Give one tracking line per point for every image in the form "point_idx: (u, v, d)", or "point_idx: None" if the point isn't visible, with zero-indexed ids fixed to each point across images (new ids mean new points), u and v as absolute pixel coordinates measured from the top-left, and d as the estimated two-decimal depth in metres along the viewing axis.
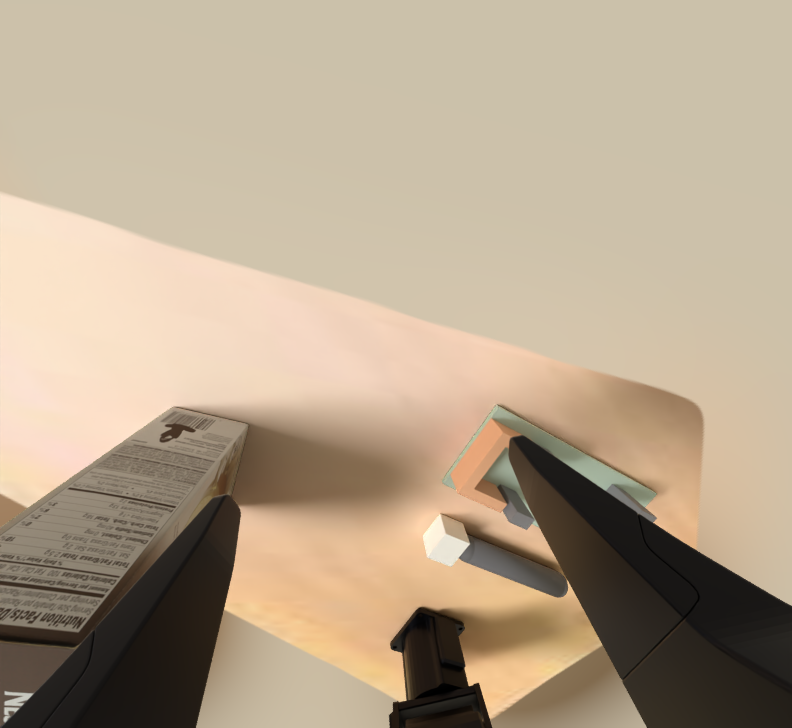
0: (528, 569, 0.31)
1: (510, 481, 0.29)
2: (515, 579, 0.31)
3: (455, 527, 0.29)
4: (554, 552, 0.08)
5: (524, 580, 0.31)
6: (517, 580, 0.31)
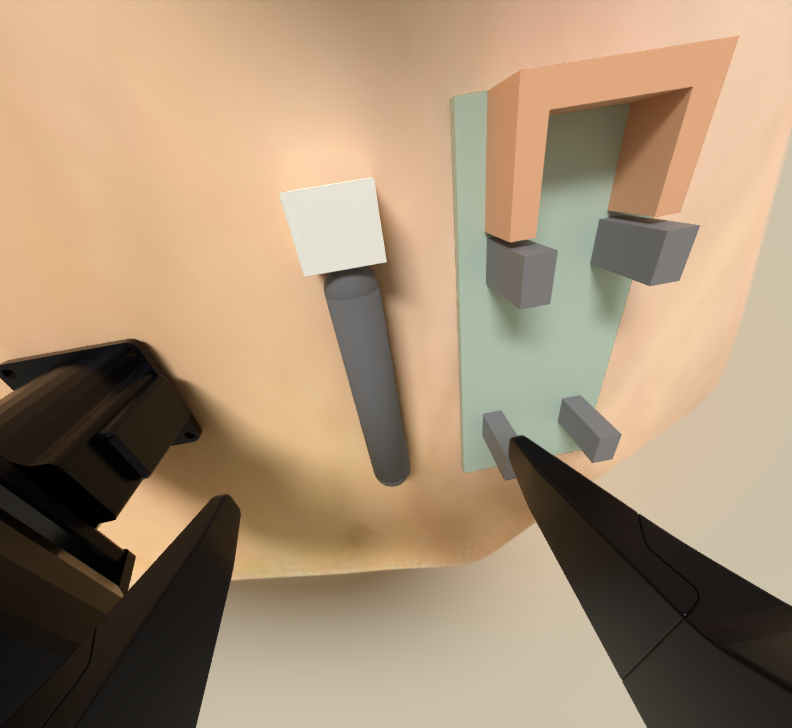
0: (397, 412, 0.16)
1: None
2: (371, 409, 0.15)
3: None
4: (554, 552, 0.08)
5: (379, 421, 0.16)
6: (370, 413, 0.16)
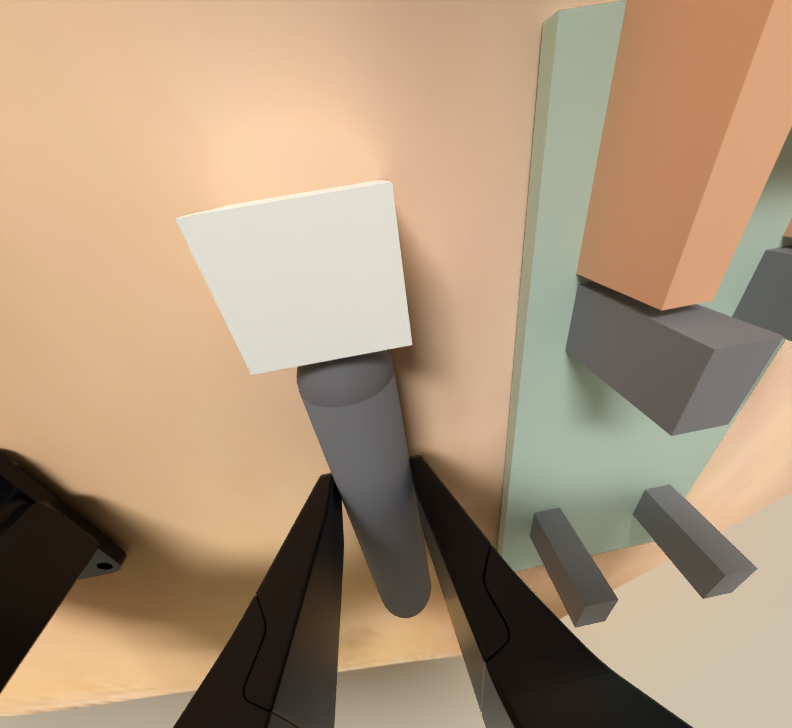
0: (417, 538, 0.11)
1: None
2: (378, 545, 0.10)
3: None
4: (438, 577, 0.08)
5: (390, 557, 0.10)
6: (377, 549, 0.10)
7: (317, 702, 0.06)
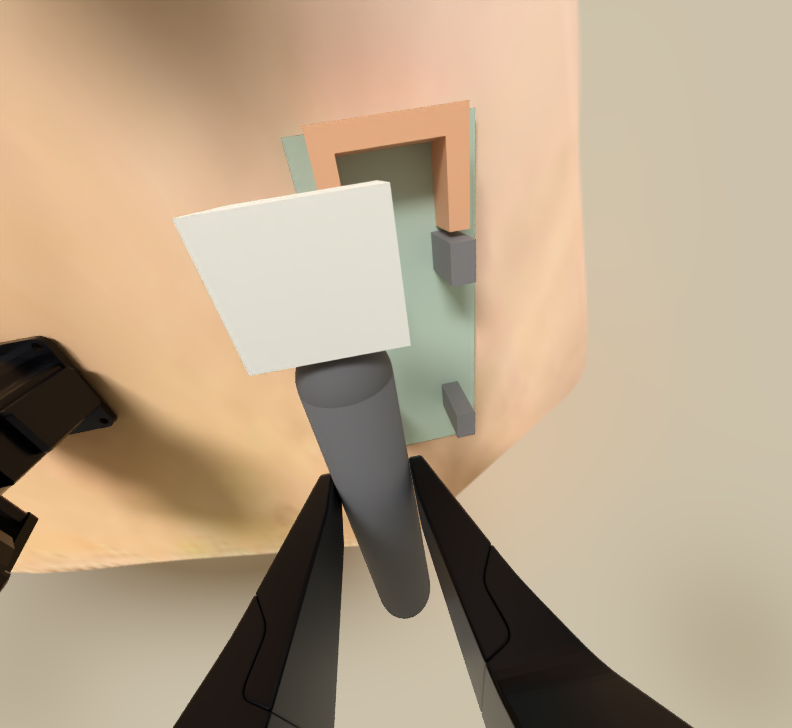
0: (416, 539, 0.11)
1: None
2: (376, 546, 0.10)
3: None
4: (438, 577, 0.08)
5: (389, 558, 0.10)
6: (376, 549, 0.10)
7: (317, 702, 0.06)
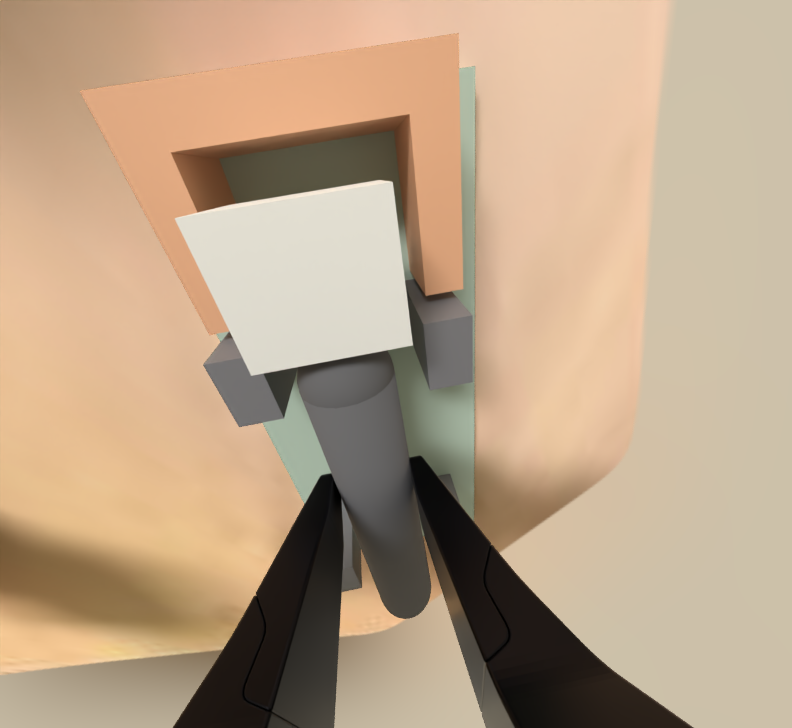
0: (417, 539, 0.11)
1: None
2: (378, 546, 0.10)
3: None
4: (438, 577, 0.08)
5: (390, 558, 0.10)
6: (377, 550, 0.10)
7: (317, 702, 0.06)
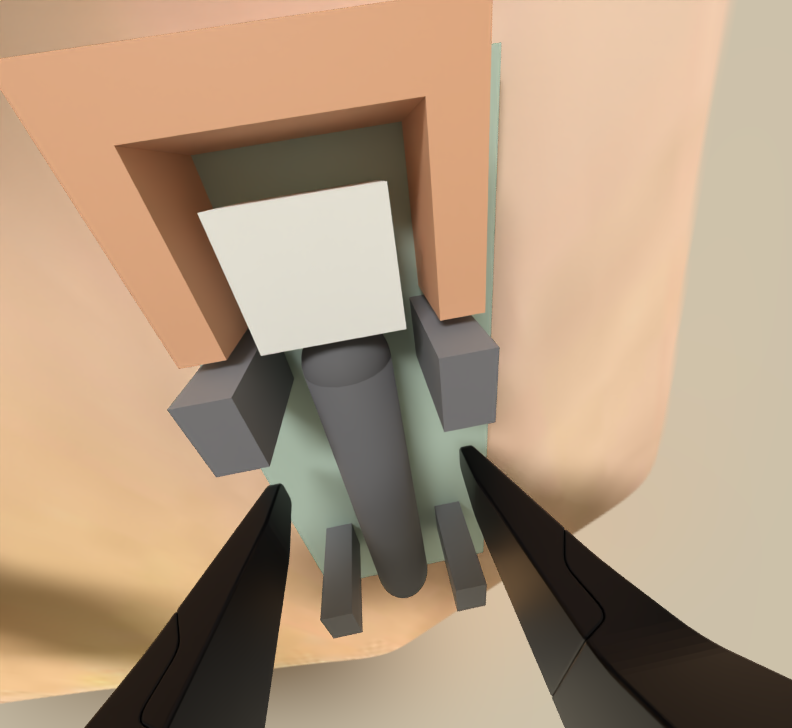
0: (413, 518, 0.11)
1: None
2: (376, 522, 0.10)
3: None
4: (496, 564, 0.08)
5: (388, 535, 0.11)
6: (375, 527, 0.11)
7: (237, 720, 0.06)
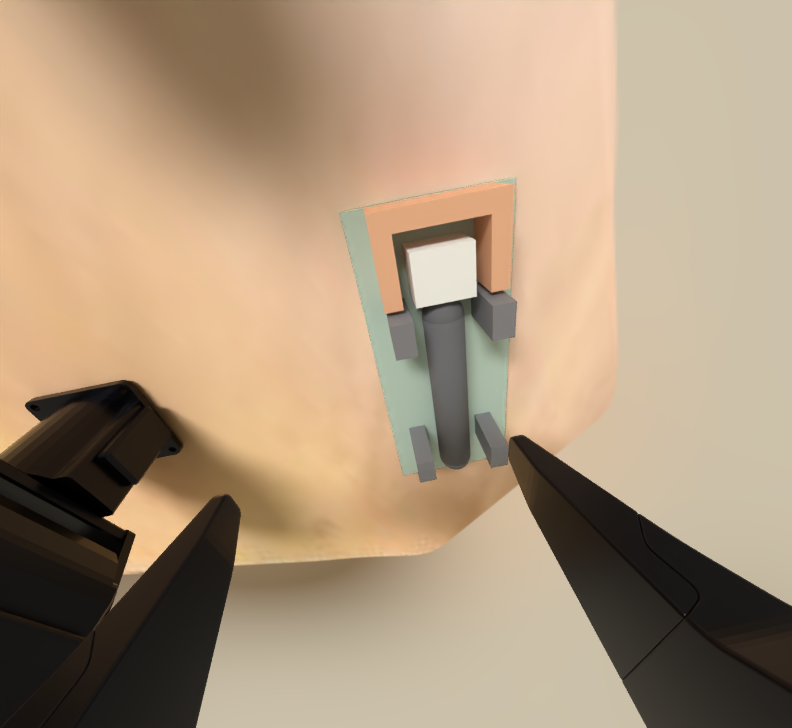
0: (467, 408, 0.21)
1: None
2: (449, 406, 0.20)
3: None
4: (554, 552, 0.08)
5: (454, 415, 0.20)
6: (448, 409, 0.20)
7: None
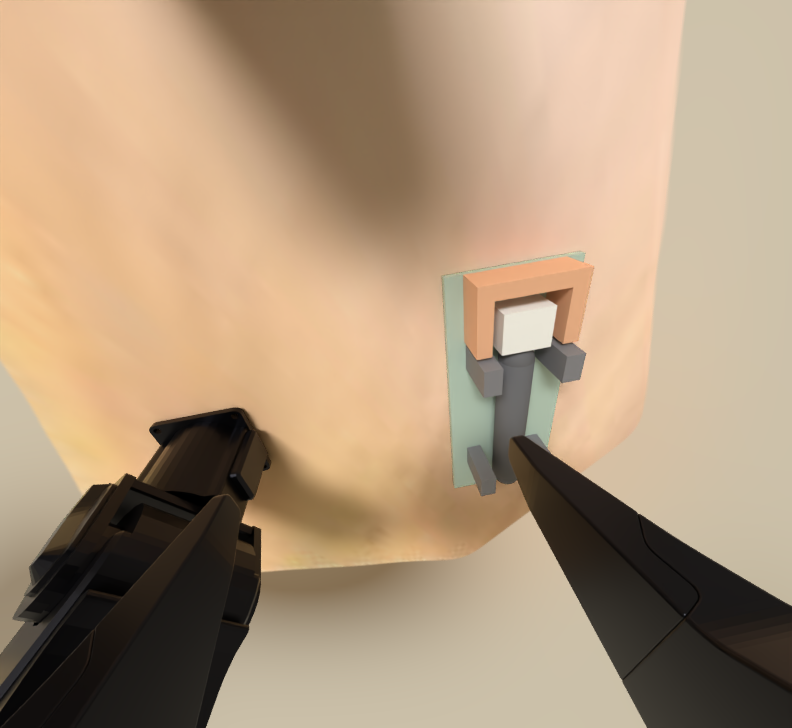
0: None
1: None
2: (513, 431, 0.23)
3: None
4: (554, 552, 0.08)
5: None
6: (511, 434, 0.23)
7: None
